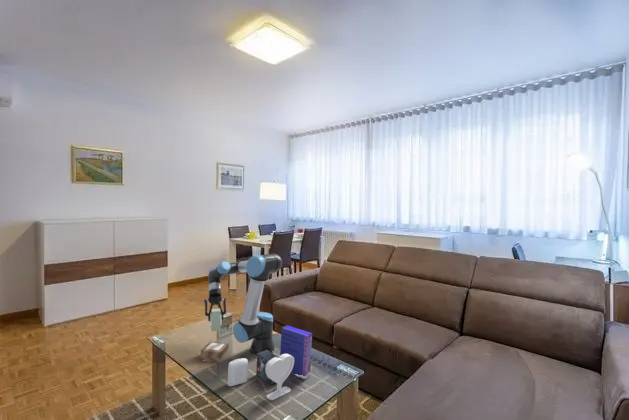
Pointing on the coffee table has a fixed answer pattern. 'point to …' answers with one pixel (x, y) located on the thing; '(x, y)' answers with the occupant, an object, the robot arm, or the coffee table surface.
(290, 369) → the heart sculpture
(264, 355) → the small box
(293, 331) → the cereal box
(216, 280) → the robot arm
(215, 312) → the sage block
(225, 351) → the walnut riser block
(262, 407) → the coffee table surface
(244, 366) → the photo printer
